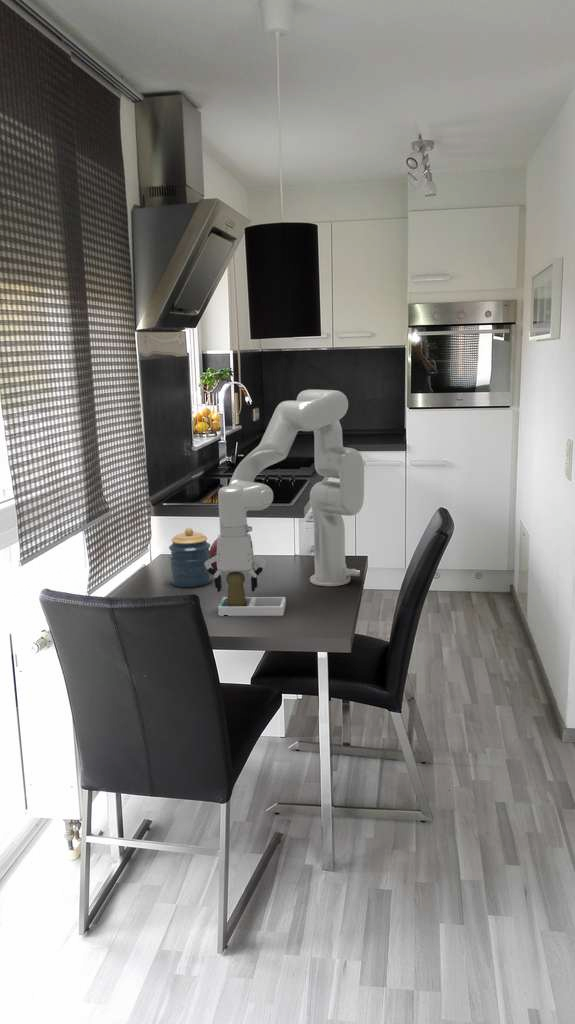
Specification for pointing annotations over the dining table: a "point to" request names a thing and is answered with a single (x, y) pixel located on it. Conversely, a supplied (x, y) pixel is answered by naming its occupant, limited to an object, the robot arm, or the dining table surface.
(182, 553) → the canister
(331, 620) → the dining table surface
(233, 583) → the cork
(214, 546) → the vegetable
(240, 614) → the white divided tray
